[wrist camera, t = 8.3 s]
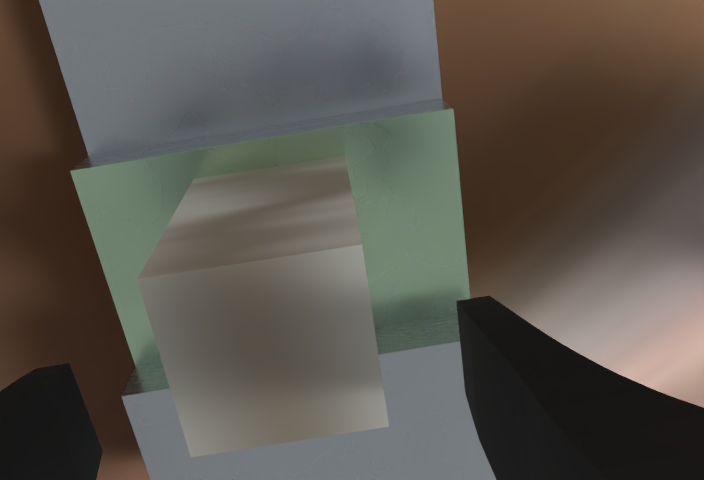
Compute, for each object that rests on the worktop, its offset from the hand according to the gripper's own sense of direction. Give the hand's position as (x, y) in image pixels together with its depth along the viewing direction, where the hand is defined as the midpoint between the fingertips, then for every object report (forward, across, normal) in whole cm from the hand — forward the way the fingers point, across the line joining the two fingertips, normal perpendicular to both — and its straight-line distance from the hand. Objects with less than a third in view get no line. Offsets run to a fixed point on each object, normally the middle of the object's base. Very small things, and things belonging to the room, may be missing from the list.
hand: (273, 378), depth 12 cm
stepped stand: (+9, 0, 0) cm, 9 cm away
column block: (+6, 0, 0) cm, 6 cm away
